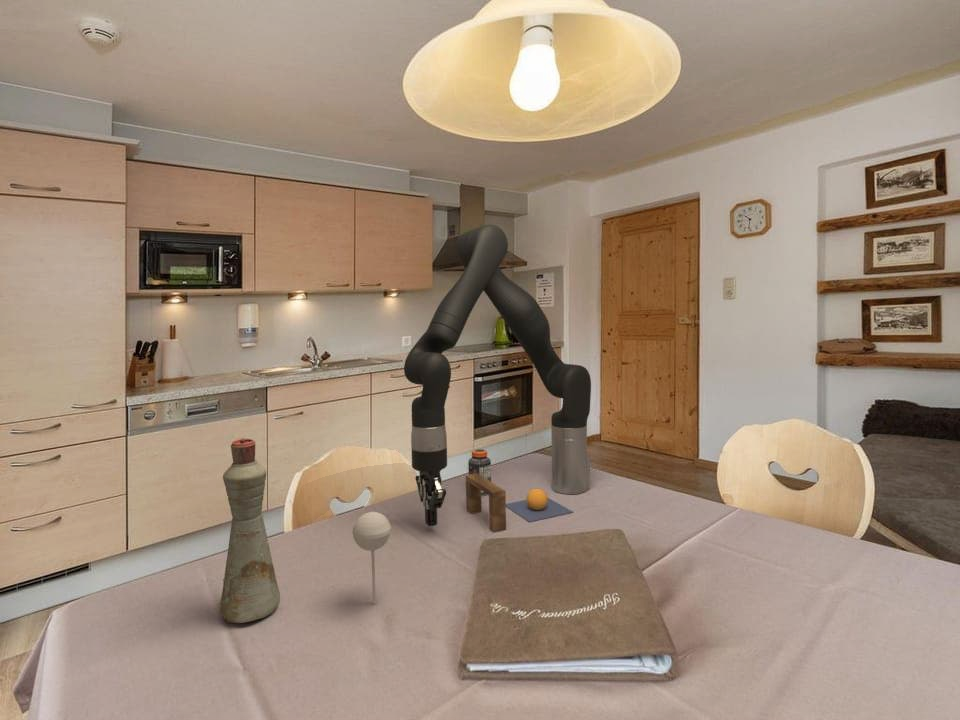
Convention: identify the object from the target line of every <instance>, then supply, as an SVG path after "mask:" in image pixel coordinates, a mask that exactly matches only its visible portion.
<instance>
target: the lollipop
mask: <svg viewBox="0 0 960 720" xmlns="http://www.w3.org/2000/svg"><path fill="white" fill-rule="evenodd" d="M352 528H353V529H352V537H353V539H354V542H355V544H356V545H357V546H358V547H359V548H360V549H363V550H365V551H368V552H371V554H370V555H371V578H372V580H371V581H372V582H371V583H372V604H373V605H376V604H377V592H376V589H377V588H376V565H375V564H376V563H375V551H377V550H379V549H382V548H383V547H384V546H385V545H386V543H388V541H389V539H390V536H391V532H392V529H391V528H392V527H391V524H390V521H389V520H388V518H387V517H386V516H385V515H384V514H382V513H380V512H376V511H370V512H366V513H364V514H362V515H361V516H360V517H359V518H358V519H357V520H356V521H355V523H354V525H353V527H352Z"/></svg>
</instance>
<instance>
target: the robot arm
mask: <svg viewBox="0 0 960 720" xmlns="http://www.w3.org/2000/svg"><path fill="white" fill-rule="evenodd" d="M455 242H456V243H455V251H456V255H457V257H458V258H457V259H458V260H459V262H460V263H461V265H462V266H463V267H464V269H465V270H463V273H462V274H461V276H460V277H459V279H458V280H457V281H456V282H455V283H454V285H453V286H452V288H450V289H449V291H448V292H447V293H446V295H445V296H444V297H443V298H442V300H441V302H440V303H439V304H438V306H437V308H436V310H435V312H434V314H433V316H432V318H431V321H430V323H429V325H428V327H427V330H425V332H424V333H423V334H422V336H420V338H419V339H418V340H417V342H415V344H414V345H413V346H412V348H411V349H410V351H409V352H408V354H407V356H406V358H405V362H404V365H403V372H404V376H405V378H406V379H407V380H408V381H409V382H410V383H411V384H415V385H419V386H422V389H421V394H420V395H421V396H417V397H415V398H414V399H413V400H412V401H411V434H410V440H411V441H410V444H411V447H410V448H411V467H412V469H413V470H414V471H418V472H419V473H418V474H419V475H415V478H414V479H415V482H416V486H417V491H418V494H419V499H420V502H421V503H422V505H423V508H424V519H425V520H424V522H425V524H426V526H427V527H434V526H437V525H438V509H441V508H442V506H443V504H444V500H445V498H446V496H447V489H446V488H442V485H443V484H442V483H443V479H442V476H441V471H442V470H444V469H445V468H447V466H448V443H447V442H448V439H447V429H446V428H447V427H446V409H445V408H446V407H445V405H446V400H447V397H448V392H449V388H450V384H451V378H452V368H451V364H450V361H449V359H448V358H447V357H446V355H444V354H443V353H444V352H446V351H448V350H450V349H453V348H454V347H455V346H456V345H457V343H458V341H459V339H460V338H461V335H462V333H463V330H464V329H465V326H466V324H467V321H468V319H469V317H470V315H471V313H472V311H473V309H474V307H475V305H476V303H477V302H478V300H479V298H480V296H481V295H482V293H483V292H484V294H485V295H486V296H487V297H488V300H490V302H491V303H492V305H493V306H494V307H495V309H496V311H498V313H499V314H500V316H501V318H502V319H503V320H504V323H505V324H506V326H507V327H508V329H509V331H511V333H512V335H513V336H514V337H515V339H516V341H518V343H519V344H520V346H521V348H522V349H523V350H524V352H525V353H526V355H527V357H528V358H529V360H530V361H531V362H532V365H533V366H534V368H535V370H536V372H537V374H538V376H539V378H540V380H541V382H542V383H543V386H544V387H545V389H546V390H547V392H548V393H549V394H550V395H552V396H553V397H555V398H558V399H562V407H561V409H560V410H559V411H556V412H554V413H552V415H551V419H550V420H551V421H550V422H551V423H550V425H551V429H550V430H551V433H550V435H551V489H552V490H553V491H554V492H557V493H560V494H564V495H565V494H566V495H578V494H582V493H585V492H586V491H587V490H590V489H591V454H590V453H589V452H588V419H589V415H590V411H591V399H592V396H591V395H592V380H591V375H590V372H589V370H588V369H587V368H586V367H584V366H583V365H579V364H573V363H572V364H571V363H565V362H563V360H562V359H561V358H560V356H559V355H558V354H557V353H556V350H555V349H554V348H553V345H552V341H551V329H550V323H549V320H548V318H547V316H546V314H545V312H544V310H543V309H542V308H541V306H540V305H539V303H538V302H537V300H536V299H535V298H534V296H532V295H531V294H530V293H529V292H528V291H526V289H523V288H522V287H521V286H520V285H519V284H517V283H515V282H514V281H513V280H511V279H510V278H508V276H507V275H506V274H505V273H504V271H502V269H501V268H500V265H502V263H503V261H504V259H505V257H506V255H507V252H508V248H509V246H508V244H509V242H508V238H507V235H506V234H505V232H504V230H503V229H502V228H501V227H499V226H497V225H495V224H484V225H480V226H478V227H476V228H473V229H470V230H468V231H465V232H463V233H462V234H460V235H459V236H458V238H457V239H456V241H455Z"/></svg>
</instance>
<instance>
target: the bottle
mask: <svg viewBox="0 0 960 720" xmlns="http://www.w3.org/2000/svg"><path fill="white" fill-rule="evenodd" d="M230 448H231V457H232V463H231V465H230V466H229V467H228V468H227V469H226V471H224V473H223V476H222V479H223V484H224V486H225V491H226V495H227V501H228V504H229V507H230V509H229V510H230V513H231V517H232V518H231V523H230V524H231V525H230V534H229V541H228V548H227V555H226V561H225V562H226V563H225V569H224V570H225V571H224V578H223V579H222V581H223V582H222V583H223V585H222V591H221V592H222V593H221V597H220V603H219V605H220V606H219V612H220V615H221V617H223V621H225V622H226V623H231V624H245V623H248V622H253V621H257V620H261V619H264V618H265V617H267V616H270V615H273V614H274V612H275V610H276V609H277V607H278V605H279V604H280V602H281V601H280V600H281V594H280V593H281V592H280V590H279V589H280V588H279V585H278V581H277V577H276V573H275V568H274V567H275V566H274V563H273V558H272V554H271V550H270V545H269V539H268V535H267V530H266V526H265V522H264V517H263V513H262V510H263V503H264V502H263V501H264V495H265V492H264V491H265V487H266V486H265V485H266V481H267V480H266V479H267V469H266V467H265V466H264V465H262V464H261V463H260V462H258V460H257V459H256V441H255V440H254V439H252V438H245V437H242V438H241V439H237V440H234V441H232V443H231V445H230Z"/></svg>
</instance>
